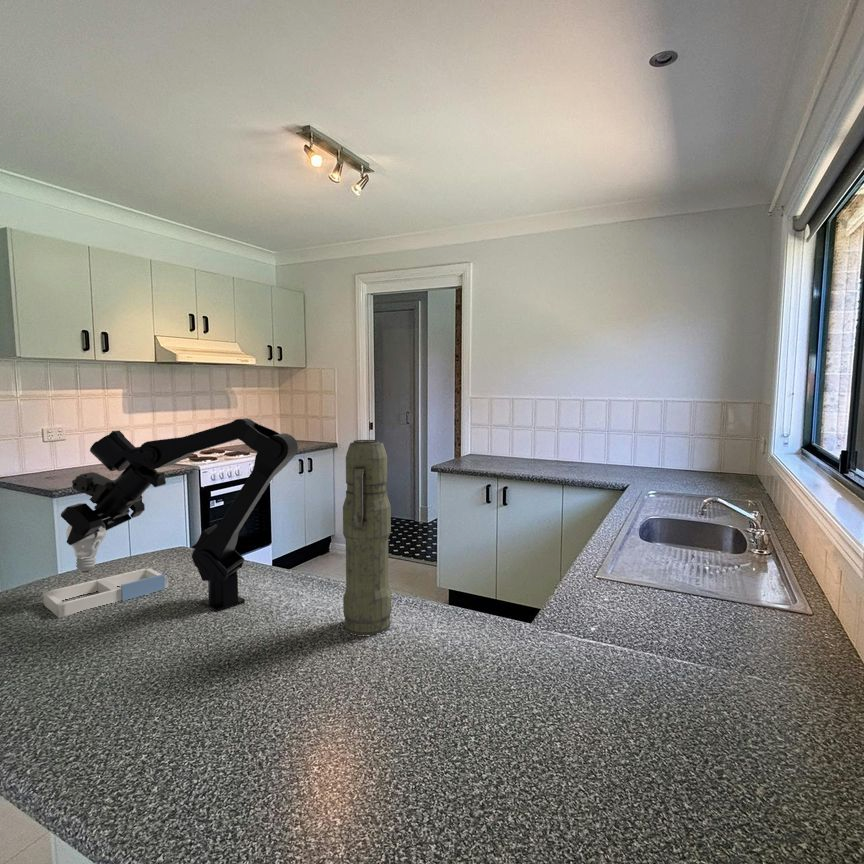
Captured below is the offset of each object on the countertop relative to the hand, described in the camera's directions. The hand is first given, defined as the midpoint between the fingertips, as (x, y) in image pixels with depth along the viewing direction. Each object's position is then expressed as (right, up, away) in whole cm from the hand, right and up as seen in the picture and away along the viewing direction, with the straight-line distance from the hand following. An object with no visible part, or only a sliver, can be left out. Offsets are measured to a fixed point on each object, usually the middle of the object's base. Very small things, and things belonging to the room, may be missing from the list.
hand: (80, 539), depth 108 cm
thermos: (+62, -14, -11) cm, 64 cm away
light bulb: (+1, -7, 0) cm, 7 cm away
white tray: (+4, -13, +3) cm, 14 cm away
